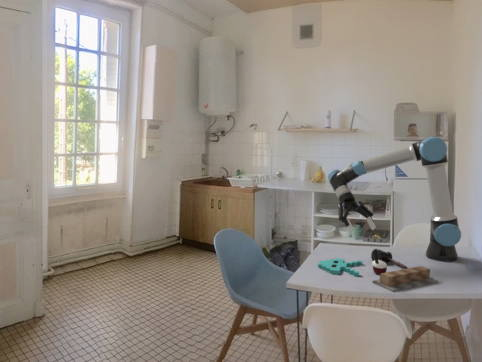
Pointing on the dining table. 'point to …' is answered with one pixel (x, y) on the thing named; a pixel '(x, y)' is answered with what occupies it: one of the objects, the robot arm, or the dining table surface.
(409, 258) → the dining table surface
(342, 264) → the alien figure
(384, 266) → the cocoa
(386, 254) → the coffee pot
